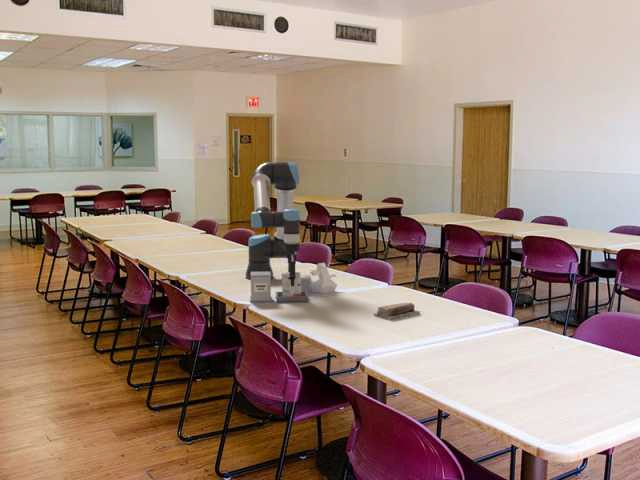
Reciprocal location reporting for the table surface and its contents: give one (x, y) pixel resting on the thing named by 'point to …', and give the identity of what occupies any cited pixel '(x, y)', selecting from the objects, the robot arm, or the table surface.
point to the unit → (260, 287)
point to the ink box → (286, 285)
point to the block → (306, 283)
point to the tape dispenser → (323, 280)
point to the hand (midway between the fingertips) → (291, 290)
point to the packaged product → (396, 311)
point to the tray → (292, 299)
